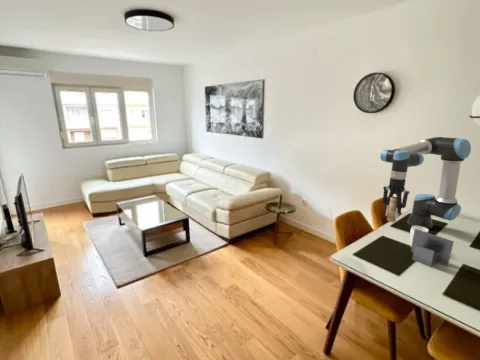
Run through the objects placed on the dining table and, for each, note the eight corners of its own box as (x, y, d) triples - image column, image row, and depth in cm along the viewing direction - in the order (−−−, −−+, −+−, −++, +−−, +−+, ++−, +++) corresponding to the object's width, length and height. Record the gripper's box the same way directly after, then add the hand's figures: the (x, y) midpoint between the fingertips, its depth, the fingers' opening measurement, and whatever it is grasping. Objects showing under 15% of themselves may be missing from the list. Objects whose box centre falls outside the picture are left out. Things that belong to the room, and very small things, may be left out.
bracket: (411, 250, 155) (416, 229, 152) (448, 264, 141) (453, 241, 137) (403, 255, 149) (407, 233, 146) (440, 271, 135) (446, 246, 131)
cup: (428, 251, 155) (432, 232, 152) (411, 249, 156) (414, 231, 153) (421, 243, 163) (424, 226, 160) (405, 242, 165) (408, 224, 162)
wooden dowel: (389, 218, 156) (392, 196, 152) (396, 220, 152) (400, 198, 149) (385, 220, 154) (388, 197, 150) (393, 222, 150) (396, 199, 147)
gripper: (379, 175, 151) (373, 213, 157) (411, 182, 138) (404, 223, 143) (385, 174, 156) (380, 210, 161) (418, 180, 142) (410, 220, 148)
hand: (391, 216), depth 152 cm, fingers closed on wooden dowel, 4 cm apart
